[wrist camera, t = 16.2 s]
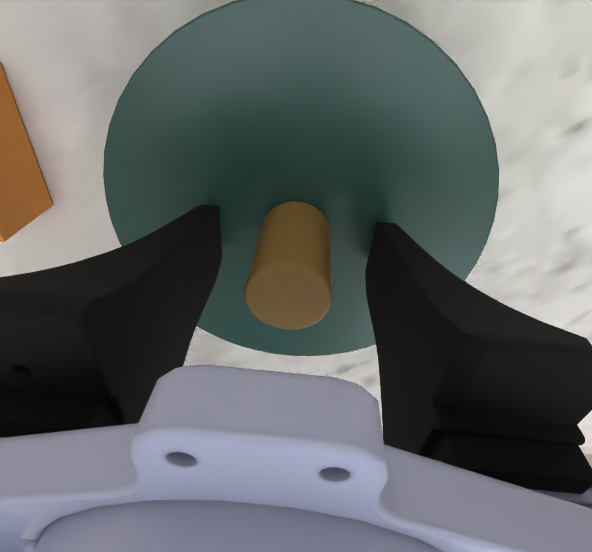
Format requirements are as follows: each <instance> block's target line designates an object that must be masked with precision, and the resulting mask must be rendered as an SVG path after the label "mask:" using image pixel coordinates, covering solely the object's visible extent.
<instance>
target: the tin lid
mask: <svg viewBox="0 0 592 552" xmlns="http://www.w3.org/2000/svg"><path fill="white" fill-rule="evenodd" d="M103 176H104V185H105V195H106V201H107V205H108V209H109V213H110V218H111V221H112V224H113V227H114V229H115V232H116V234H117V237H118V239H119V242H120V244H121V246H125V245H127V244H129V243H132V242H134V241H136V240H138V239H140V238H142V237H144V236H146V235H148V234H150V233H152V232H154V231H155V230H157V229H159V228H161V227H163V226H165V225H166V224H168V223H170V222H172V221H173V220H175V219H177V218H178V217H180V216H182V215H183V214H185V213H187V212H188V211H190V210H192V209H193V208H195V207H197V206H199V205H211V206H219V208H220V225H221V241H222V261H221V265H220V269H219V272H218V276H217V279H216V282H215V285H214V287H213V289H212V292H211V294H210V296H209V299H208V301H207V303H206V305H205V308H204V310H203V312H202V314H201V317H200V319H199V321H198V324H197V326H198V327H199V328H201V329H203V330H205V331H207V332H209V333H211V334H213V335H215V336H217V337H219V338H221V339H224V340H226V341H229V342H231V343H234V344H237V345H240V346H243V347H247V348H250V349H254V350H258V351H263V352H268V353H273V354H282V355H291V356H318V355H331V354H338V353H344V352H350V351H354V350H358V349H362V348H366V347H369V346H372V345H375V344H376V342H375V337H374V332H373V327H372V322H371V317H370V312H369V307H368V302H367V296H366V283H365V269H366V265H367V260H368V256H369V252H370V248H371V244H372V239H373V235H374V231H375V227H376V223H377V221H378V222H388V223H396V224H397V225H398V226H399V227H400V228H402V229H403V230H404V231H405V232H406V233H407V234H408V235H409V236H410V237H411V238H412V239H413V240H414V241H415V242H416V243H417V244H418V245H420V246H421V247H422V248H423V249H424V250H425V251H426V252H427V253H428V254H429V255H431V256H432V257H433V258H434V259H435V260H436V261H438V262H439V263H440V264H441V265H443V266H444V267H445V268H446V269H448V270H449V271H450V272H452V273H453V274H454V275H456V276H457V277H459V278H460V279H462V280H463V281H465V279H466V278H467V276H468V275H469V273H470V272H471V270H472V269H473V267H474V266H475V264H476V263H477V261H478V259H479V257H480V255H481V253H482V251H483V249H484V247H485V245H486V242H487V239H488V236H489V233H490V230H491V227H492V224H493V221H494V217H495V211H496V206H497V200H498V188H499V166H498V158H497V151H496V143H495V140H494V137H493V133H492V130H491V126H490V123H489V120H488V116H487V114H486V112H485V110H484V108H483V106H482V104H481V102H480V100H479V98H478V96H477V94H476V92H475V90H474V88H473V87H472V86H471V84H470V83H469V81H468V80H467V78H466V77H465V76H464V74H463V73H462V71H461V70H460V69H459V67H458V66H457V64H456V63H455V62H454V61H453V60H452V59H451V58H450V57H449V56H448V55H447V54H446V53H445V52H444V51H443V50H442V49H441V48H440V47H439V46H438V45H437V44H436V43H435V42H434V41H432V40H431V39H429V38H428V37H427V36H425V35H424V34H422V33H421V32H420V31H418V30H417V29H415V28H414V27H413V26H411V25H410V24H408V23H407V22H405V21H403V20H401V19H399V18H397V17H395V16H393V15H391V14H389V13H387V12H385V11H383V10H381V9H379V8H377V7H375V6H371V5H368V4H365V3H361V2H358V1H355V0H237V1H233V2H231V3H228V4H226V5H223V6H221V7H218V8H216V9H213V10H211V11H208V12H206V13H203V14H202V15H200V16H198V17H197V18H195V19H193V20H192V21H190V22H188V23H187V24H185V25H184V26H182V27H180V28H179V29H177V30H175V31H174V32H173V33H172V34H171V35H170V36H168V37H167V38H166V39H165V40H164V41H163V42H162V43H161V44H159V45H158V46H157V47H156V48H155V49H154V50H153V51H151V53H150V54H149V55H148V56H147V58H146V59H145V60H144V61H143V63H142V64H141V65H140V66H139V67H138V69H137V70H136V71H135V72H134V74H133V75H132V77H131V79H130V80H129V82H128V84H127V86H126V87H125V89H124V91H123V93H122V94H121V96H120V98H119V100H118V103H117V105H116V108H115V111H114V114H113V116H112V119H111V122H110V125H109V130H108V135H107V140H106V145H105V150H104V174H103Z"/></svg>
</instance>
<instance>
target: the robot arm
mask: <svg viewBox="0 0 592 552" xmlns="http://www.w3.org/2000/svg"><path fill="white" fill-rule="evenodd" d="M221 261H222V241H221V225H220V208H219V206H211V205H199V206H197V207H195V208H193V209H192V210H190V211H188V212H187V213H185V214H183V215H182V216H180V217H178V218H177V219H175V220H173V221H172V222H170V223H168V224H166V225H165V226H163V227H161V228H159V229H157V230H155V231H154V232H152V233H150V234H148V235H146V236H144V237H142V238H140V239H138V240H136V241H134V242H132V243H129V244H127V245H125V246H122V247H120V248H117V249H115V250H112V251H109V252H107V253H103V254H100V255H97V256H94V257H91V258H88V259H85V260H81V261H78V262H75V263H71V264H67V265H63V266H59V267H55V268H50V269H46V270H41V271H36V272H31V273H25V274H19V275H13V276H7V277H0V552H592V468H591V466H590V465H589V463H588V461H587V459H586V458H585V456H584V454H583V452H582V451H581V449H580V447H579V445H582V444H583V443H585V437H584V435H583V434H582V432H581V430H580V429H579V427H578V425H577V424H578V423H579V422H580V421H581V420H582V419H583V418H584V417H585V416H586V415H587V414H588V413H589V412H590V411H591V410H592V345H591V344H590V342H589V341H588V340H587V339H586V338H584V337H581V336H579V335H576V334H573V333H571V332H568V331H565V330H563V329H560V328H557V327H554V326H552V325H549V324H546V323H544V322H541V321H539V320H537V319H534V318H532V317H530V316H528V315H525V314H523V313H521V312H519V311H517V310H514V309H512V308H510V307H508V306H506V305H504V304H502V303H500V302H499V301H497V300H495V299H493V298H491V297H489V296H488V295H486V294H484V293H482V292H481V291H479V290H477V289H476V288H474V287H472V286H471V285H469V284H468V283H466V282H465V281H463V280H462V279H460V278H459V277H457V276H456V275H454V274H453V273H452V272H450V271H449V270H448V269H446V268H445V267H444V266H443V265H441V264H440V263H439V262H438V261H436V260H435V259H434V258H433V257H432V256H431V255H429V254H428V253H427V252H426V251H425V250H424V249H423V248H422V247H421V246H420V245H418V244H417V243H416V242H415V241H414V240H413V239H412V238H411V237H410V236H409V235H408V234H407V233H406V232H405V231H404V230H403V229H402V228H400V227H399V226H398V225H397V224H396V223H388V222H378V221H377V223H376V227H375V231H374V235H373V239H372V244H371V248H370V252H369V256H368V260H367V265H366V269H365V283H366V296H367V302H368V307H369V312H370V317H371V322H372V327H373V332H374V337H375V342H376V347H377V353H378V361H379V374H380V387H381V402H382V422H383V434H382V426H381V419H380V412H379V404H378V400H377V399H376V398H374V397H373V396H372V395H371V394H370V393H369V392H368V391H366V390H365V389H364V388H363V387H362V386H360V385H358V384H355V383H352V382H348V381H345V380H341V379H337V378H334V377H326V376H315V375H305V374H295V373H285V372H274V371H264V370H254V369H243V368H233V367H223V366H213V365H198V366H185V367H183V364H184V361H185V358H186V354H187V351H188V348H189V345H190V341H191V338H192V336H193V333H194V331H195V328H196V326H197V324H198V321H199V319H200V317H201V314H202V312H203V310H204V308H205V305H206V303H207V301H208V299H209V296H210V294H211V292H212V289H213V287H214V285H215V282H216V279H217V276H218V272H219V269H220V265H221Z"/></svg>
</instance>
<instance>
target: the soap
mask: <svg viewBox="0 0 592 552" xmlns="http://www.w3.org/2000/svg"><path fill="white" fill-rule="evenodd" d="M52 205H53V203H52V200H51V198H50V195H49V192H48V190H47V187H46V184H45V181H44V179H43V176H42V173H41V171H40V168H39V165H38V163H37V160H36V157H35V154H34V152H33V149H32V146H31V144H30V141H29V138H28V135H27V133H26V130H25V127H24V125H23V122H22V119H21V116H20V114H19V111H18V108H17V106H16V103H15V100H14V97H13V95H12V92H11V89H10V87H9V84H8V81H7V79H6V76H5V73H4V70H3V68H2V65H1V63H0V242H4V241H6V240H7V239H9V238H10V237H11V236H13V235H14V234H15V233H17V232H18V231H19V230H21V229H22V228H23V227H25V226H26V225H27V224H29V223H30V222H31V221H33V220H34V219H35V218H36V217H38V216H39V215H40V214H42V213H43V212H44V211H46V210H47V209H48V208H50V207H51V206H52Z"/></svg>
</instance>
